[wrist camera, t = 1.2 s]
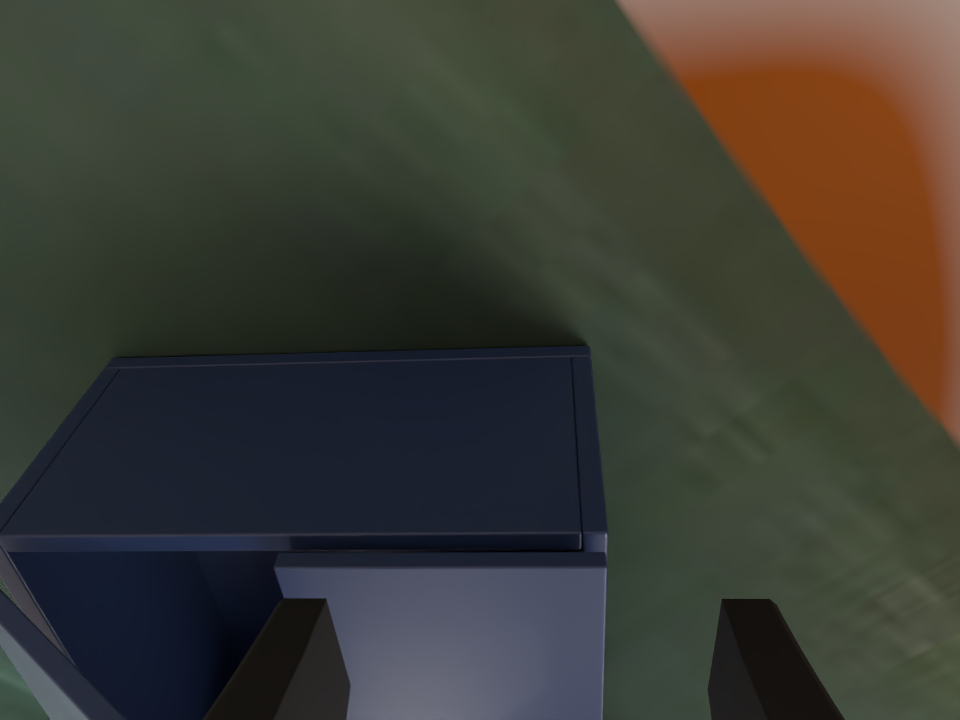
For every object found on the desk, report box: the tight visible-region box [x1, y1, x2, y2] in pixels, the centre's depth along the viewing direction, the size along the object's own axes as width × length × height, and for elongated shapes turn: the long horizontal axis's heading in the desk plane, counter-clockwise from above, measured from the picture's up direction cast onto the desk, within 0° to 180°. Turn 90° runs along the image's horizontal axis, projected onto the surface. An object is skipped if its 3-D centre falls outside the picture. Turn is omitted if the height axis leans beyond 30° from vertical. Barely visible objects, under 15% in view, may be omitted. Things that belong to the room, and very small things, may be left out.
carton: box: [0, 346, 608, 720], centre depth 22 cm, size 14×13×7 cm
